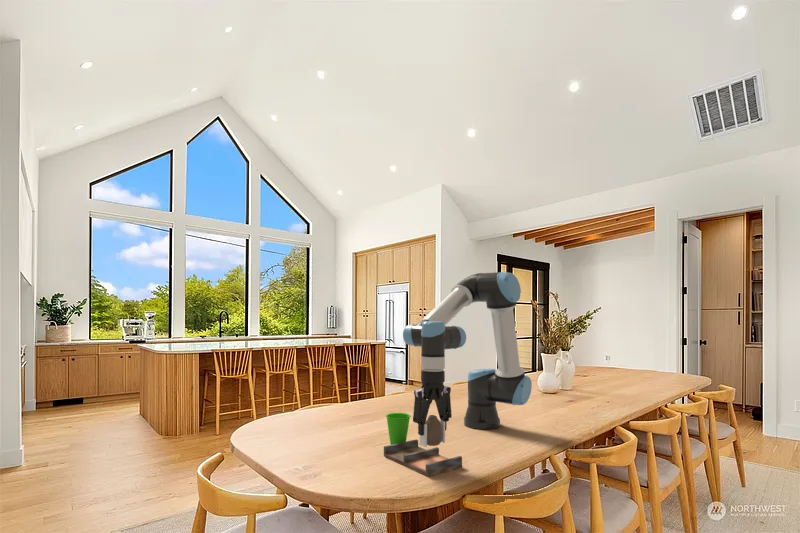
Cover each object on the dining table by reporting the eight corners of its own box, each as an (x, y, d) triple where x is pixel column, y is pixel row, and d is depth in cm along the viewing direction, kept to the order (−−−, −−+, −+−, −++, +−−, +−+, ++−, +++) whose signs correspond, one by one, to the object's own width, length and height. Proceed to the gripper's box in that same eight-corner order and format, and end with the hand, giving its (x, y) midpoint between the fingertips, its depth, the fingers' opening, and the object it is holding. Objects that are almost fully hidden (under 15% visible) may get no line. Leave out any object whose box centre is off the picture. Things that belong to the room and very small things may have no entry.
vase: (418, 442, 152) (418, 414, 152) (437, 440, 154) (437, 412, 155) (426, 448, 145) (427, 419, 146) (447, 446, 148) (447, 417, 148)
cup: (396, 441, 175) (396, 411, 176) (415, 446, 170) (415, 415, 170) (380, 447, 168) (380, 415, 169) (399, 452, 163) (400, 419, 164)
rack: (416, 448, 167) (416, 439, 167) (462, 467, 149) (462, 456, 149) (383, 456, 159) (383, 446, 159) (427, 476, 140) (427, 465, 141)
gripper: (447, 366, 160) (447, 435, 159) (401, 370, 149) (400, 445, 147) (463, 368, 154) (463, 441, 153) (416, 373, 143) (415, 452, 141)
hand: (432, 443), depth 150 cm, fingers closed on vase, 7 cm apart
